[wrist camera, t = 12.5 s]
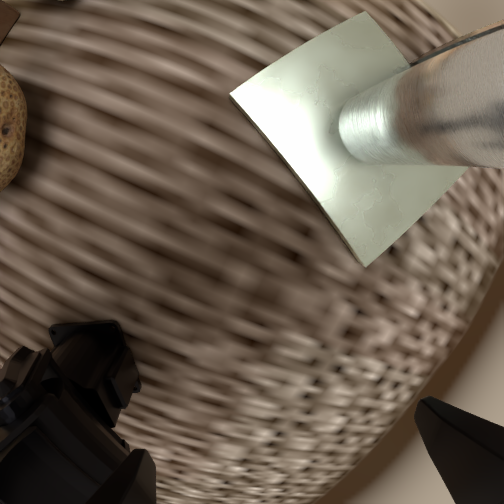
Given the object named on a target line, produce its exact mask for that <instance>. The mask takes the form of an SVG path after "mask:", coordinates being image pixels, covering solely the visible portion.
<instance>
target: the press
mask: <svg viewBox="0 0 504 504" xmlns="http://www.w3.org/2000/svg"><path fill="white" fill-rule="evenodd" d="M502 29H504V20H501V21H498V22H496V23H493V24H490V25H488V26H485V27H483V28H480V29H478V30H476V31H473V32H471V33H468V34H466V35H464V36H461V37H459V38H457V39H455V40H452V41H450V42H448V43H446V44H444V45H441V46H439V47H437V48H435V49H433V50H431V51H429V52H427V53H425V54H423V55H422V56H420V57H419V58H417V59H416V60H414V61H413V62H411V63H410V64H409V63H408V62H407V61H406V59H405V58H404V57H403V55H402V54H401V53H400V51H399V50H398V49H397V47H396V46H395V45H394V44H393V42H392V41H391V40H390V39H389V37H388V36H387V35H386V34H385V33H384V31H383V30H382V29H381V28H380V27H379V26H378V24H377V23H376V22H375V21H374V20H373V19H372V18H371V17H370V15H369V14H368V13H367V12H366V11H364V12H362V13H360V14H358V15H356V16H354V17H352V18H350V19H348V20H346V21H344V22H342V23H340V24H339V25H337V26H335V27H333V28H331V29H329V30H327V31H326V32H324V33H322V34H320V35H318V36H317V37H315V38H313V39H311V40H310V41H308V42H306V43H305V44H303V45H301V46H300V47H298V48H296V49H295V50H293V51H291V52H290V53H288V54H287V55H285V56H283V57H282V58H280V59H279V60H277V61H276V62H274V63H273V64H271V65H270V66H268V67H267V68H265V69H264V70H262V71H261V72H259V73H258V74H256V75H255V76H253V77H252V78H250V79H249V80H248V81H246V82H245V83H243V84H242V85H241V86H239V87H238V88H236V89H235V90H234V91H232V92H231V93H230V96H229V98H230V100H231V101H232V102H233V103H234V104H235V105H236V106H237V107H238V109H239V110H240V111H241V112H242V113H243V114H244V115H245V116H246V118H247V119H248V120H249V121H250V122H251V123H252V125H253V126H254V127H255V128H256V129H257V130H258V132H259V133H260V134H261V135H262V136H263V137H264V139H265V140H266V141H267V142H268V143H269V145H270V146H271V147H272V148H273V149H274V151H275V152H276V153H277V154H278V156H279V157H280V158H281V159H282V161H283V162H284V163H285V164H286V165H287V167H288V168H289V169H290V170H291V172H292V173H293V174H294V176H295V177H296V178H297V179H298V181H299V182H300V183H301V184H302V186H303V187H304V188H305V190H306V191H307V192H308V194H309V195H310V196H311V197H312V199H313V200H314V201H315V203H316V204H317V205H318V207H319V208H320V209H321V211H322V212H323V213H324V215H325V216H326V218H327V219H328V220H329V222H330V223H331V224H332V226H333V227H334V228H335V230H336V231H337V233H338V234H339V235H340V237H341V238H342V240H343V241H344V242H345V244H346V245H347V247H348V248H349V250H350V251H351V252H352V254H353V255H354V257H355V258H356V260H357V261H358V263H360V264H361V265H363V266H364V267H365V268H366V267H367V266H368V265H369V264H370V263H371V262H373V261H374V260H375V259H376V258H377V257H378V256H379V255H380V254H381V253H383V252H384V251H385V250H386V249H387V248H388V247H389V246H390V245H391V244H392V243H394V242H395V241H396V240H397V239H398V238H399V237H400V236H401V235H402V234H403V233H404V232H405V231H406V230H408V229H409V228H410V227H411V226H412V225H413V224H414V223H415V222H416V221H417V220H418V219H419V218H420V217H421V216H422V215H423V214H424V213H425V212H426V211H427V210H428V209H429V208H430V207H431V206H432V205H433V204H434V203H435V202H436V201H437V200H438V199H439V198H440V197H441V196H442V195H443V194H444V193H445V192H446V191H447V190H448V189H449V188H450V187H451V186H452V185H453V184H454V183H455V182H456V181H457V179H458V178H459V177H460V176H461V175H462V174H463V173H464V172H465V171H466V170H467V169H468V168H469V167H465V166H436V165H369V164H366V163H363V162H361V161H359V160H358V159H356V158H355V157H354V156H353V155H352V154H351V153H350V152H349V151H348V150H347V148H346V147H345V145H344V143H343V141H342V138H341V135H340V131H339V117H340V113H341V110H342V108H343V106H344V105H345V104H346V102H347V101H348V100H350V99H351V98H352V97H354V96H356V95H358V94H360V93H362V92H363V91H365V90H367V89H369V88H371V87H373V86H375V85H377V84H379V83H381V82H383V81H385V80H387V79H389V78H391V77H393V76H395V75H397V74H399V73H401V72H403V71H405V70H407V69H409V68H411V67H413V66H415V65H417V64H419V63H422V62H424V61H426V60H428V59H430V58H433V57H435V56H437V55H439V54H442V53H444V52H446V51H448V50H451V49H453V48H455V47H458V46H460V45H463V44H465V43H468V42H470V41H473V40H475V39H478V38H480V37H483V36H485V35H488V34H491V33H494V32H496V31H499V30H502Z"/></svg>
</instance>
